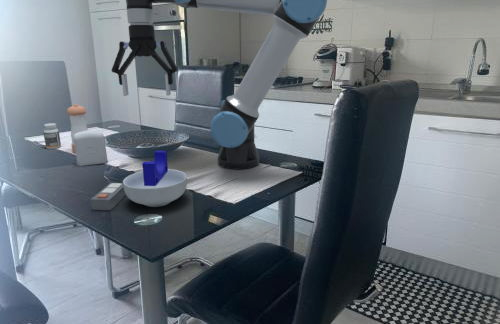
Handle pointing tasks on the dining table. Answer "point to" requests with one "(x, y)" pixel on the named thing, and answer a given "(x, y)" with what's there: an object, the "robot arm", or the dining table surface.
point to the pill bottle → (51, 136)
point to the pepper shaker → (77, 121)
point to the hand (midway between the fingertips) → (147, 95)
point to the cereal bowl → (155, 188)
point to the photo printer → (90, 147)
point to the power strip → (108, 197)
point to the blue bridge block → (155, 169)
